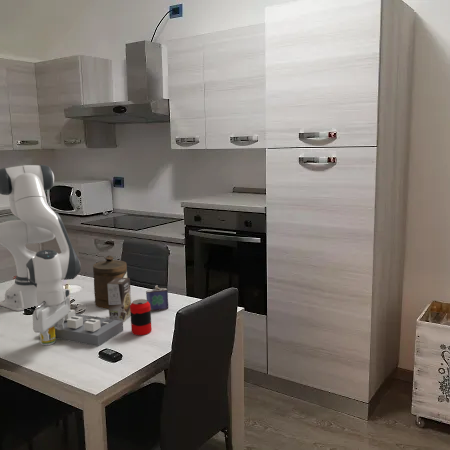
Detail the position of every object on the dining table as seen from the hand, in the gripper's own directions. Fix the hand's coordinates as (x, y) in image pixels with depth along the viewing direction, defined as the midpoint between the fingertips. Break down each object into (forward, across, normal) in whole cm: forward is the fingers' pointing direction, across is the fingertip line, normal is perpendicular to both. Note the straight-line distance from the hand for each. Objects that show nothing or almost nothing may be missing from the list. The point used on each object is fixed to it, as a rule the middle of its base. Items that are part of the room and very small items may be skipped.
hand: (54, 334), depth 172 cm
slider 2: (+2, +11, -3) cm, 11 cm away
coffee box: (+6, +31, -13) cm, 34 cm away
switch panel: (+6, +15, -1) cm, 16 cm away
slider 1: (+2, +18, +3) cm, 18 cm away
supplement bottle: (+6, +5, +5) cm, 9 cm away
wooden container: (+6, +49, -2) cm, 49 cm away
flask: (+6, +42, -25) cm, 50 cm away
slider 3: (+2, +8, -11) cm, 14 cm away
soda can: (+6, +18, -26) cm, 32 cm away
